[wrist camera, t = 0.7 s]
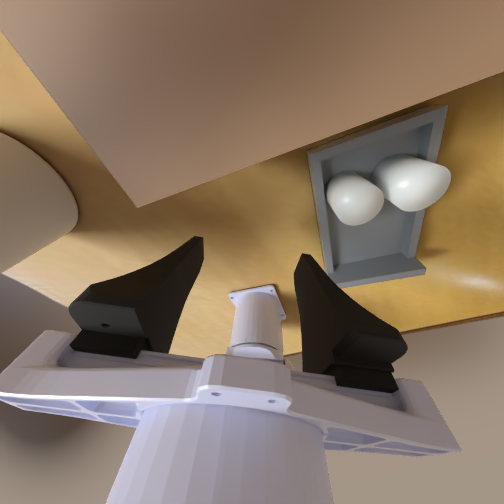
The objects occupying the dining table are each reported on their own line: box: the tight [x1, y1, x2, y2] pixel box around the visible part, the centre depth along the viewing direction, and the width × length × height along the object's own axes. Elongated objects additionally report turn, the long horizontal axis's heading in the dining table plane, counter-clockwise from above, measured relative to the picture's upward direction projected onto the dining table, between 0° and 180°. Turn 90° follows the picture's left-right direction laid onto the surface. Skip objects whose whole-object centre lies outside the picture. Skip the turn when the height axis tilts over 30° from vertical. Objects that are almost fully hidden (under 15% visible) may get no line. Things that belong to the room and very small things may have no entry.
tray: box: [306, 105, 451, 288], centre depth 19 cm, size 16×10×5 cm, turn 20°
